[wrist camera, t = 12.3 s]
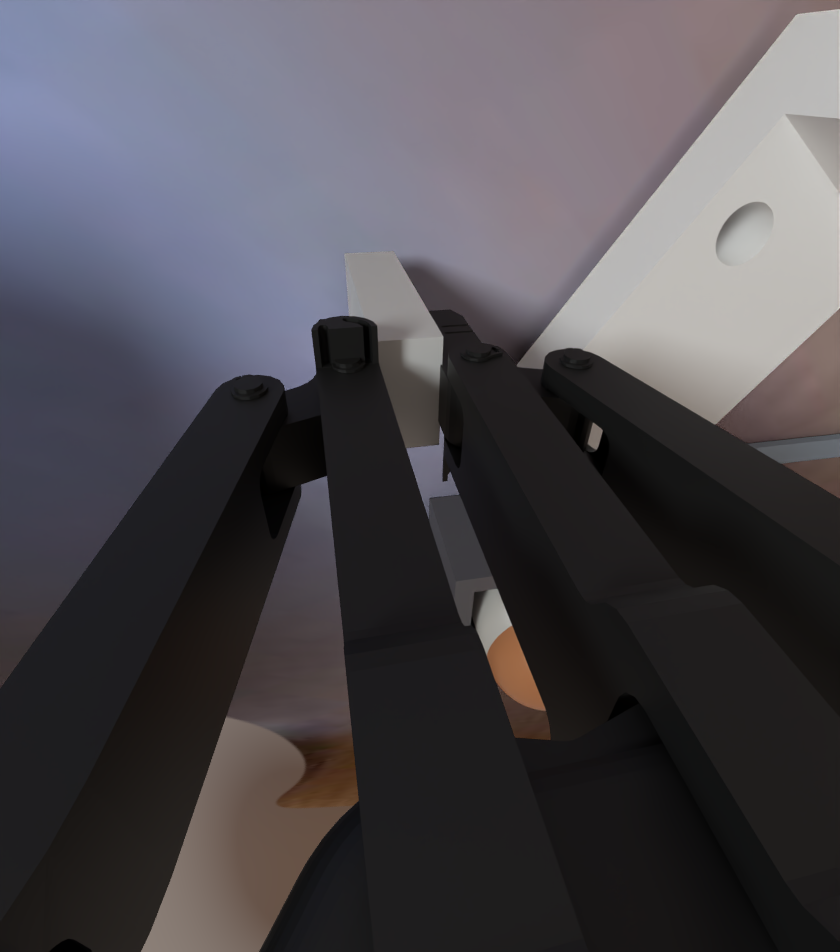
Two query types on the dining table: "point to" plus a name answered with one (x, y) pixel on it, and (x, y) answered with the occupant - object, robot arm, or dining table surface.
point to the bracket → (727, 241)
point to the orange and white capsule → (504, 649)
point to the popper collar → (459, 553)
